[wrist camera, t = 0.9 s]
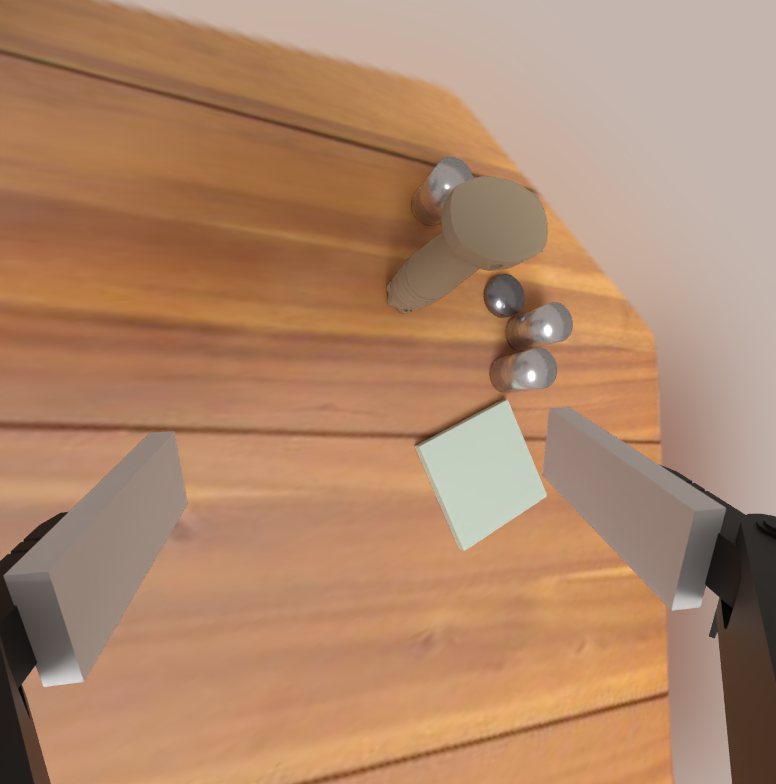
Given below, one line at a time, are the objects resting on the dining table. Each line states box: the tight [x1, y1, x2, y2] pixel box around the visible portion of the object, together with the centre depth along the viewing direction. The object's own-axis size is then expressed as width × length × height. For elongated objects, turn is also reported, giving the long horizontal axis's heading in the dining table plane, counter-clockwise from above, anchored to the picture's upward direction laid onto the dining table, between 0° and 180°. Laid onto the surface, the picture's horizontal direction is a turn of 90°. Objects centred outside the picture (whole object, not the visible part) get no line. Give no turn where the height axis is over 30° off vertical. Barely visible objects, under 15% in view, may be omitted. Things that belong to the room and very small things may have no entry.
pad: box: [415, 400, 547, 551], centre depth 39 cm, size 10×10×1 cm
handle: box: [386, 176, 548, 313], centre depth 31 cm, size 5×6×15 cm
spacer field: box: [411, 157, 573, 393], centre depth 39 cm, size 21×8×5 cm, turn 25°
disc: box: [484, 274, 524, 318], centre depth 41 cm, size 4×4×1 cm
